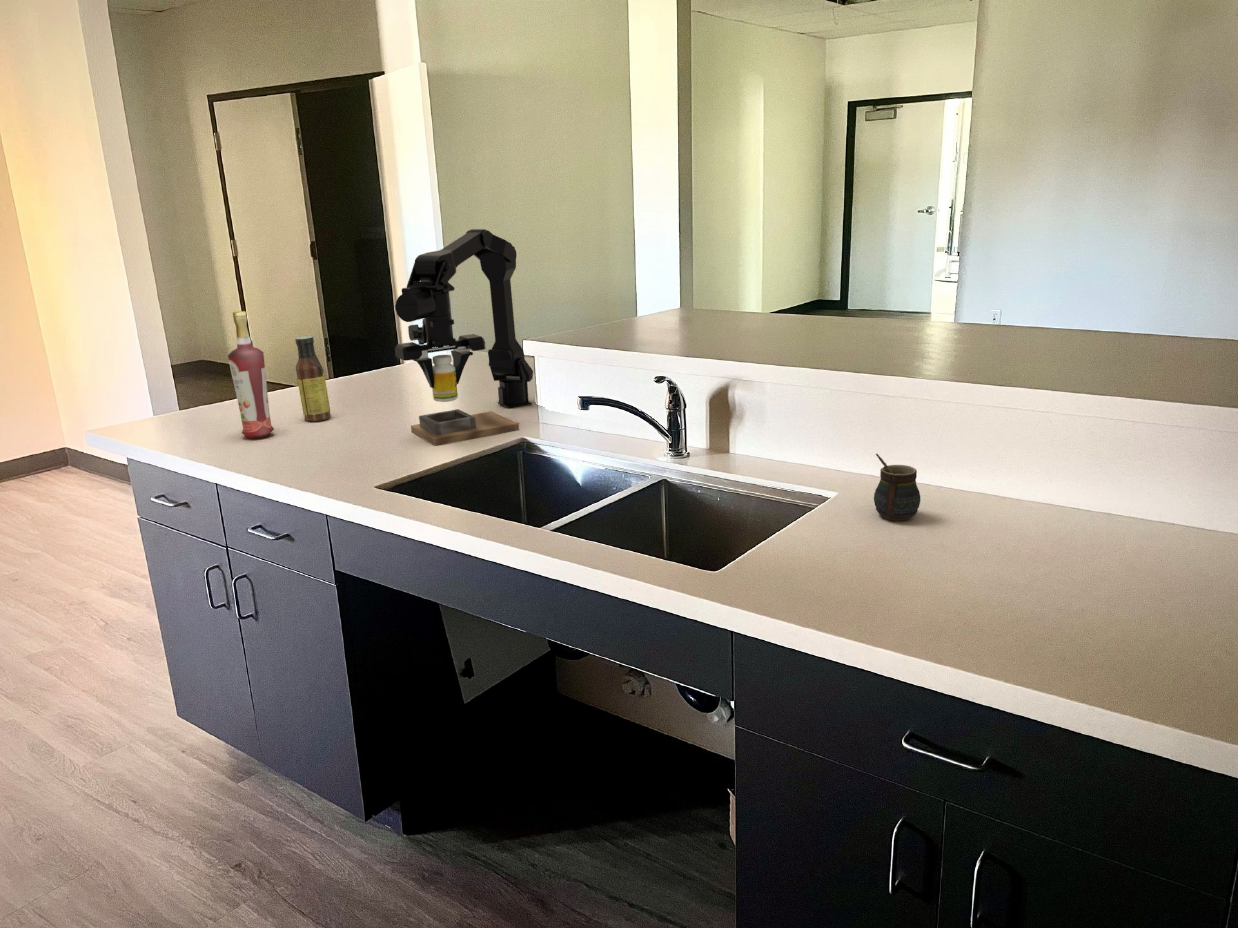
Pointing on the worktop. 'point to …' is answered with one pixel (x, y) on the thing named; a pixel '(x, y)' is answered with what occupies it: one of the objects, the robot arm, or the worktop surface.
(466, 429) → the socket board
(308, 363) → the sauce bottle
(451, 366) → the supplement bottle
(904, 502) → the mate gourd
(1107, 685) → the worktop surface
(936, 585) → the worktop surface
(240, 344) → the liquor
